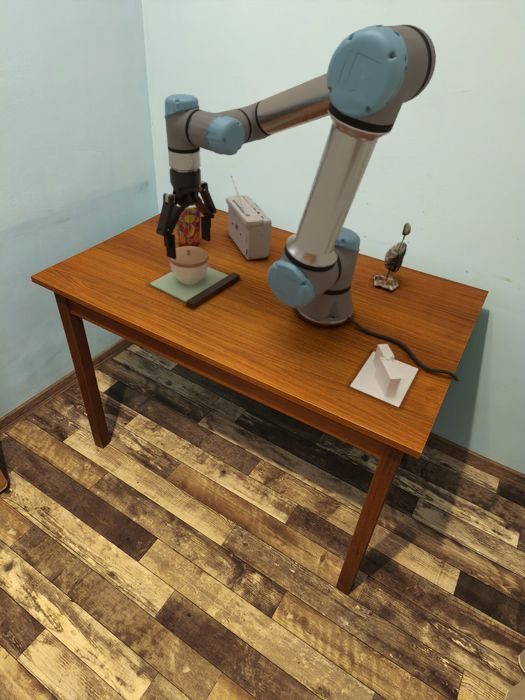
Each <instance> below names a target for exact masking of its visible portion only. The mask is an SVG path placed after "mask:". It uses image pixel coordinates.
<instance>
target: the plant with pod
mask: <svg viewBox="0 0 525 700" xmlns="http://www.w3.org/2000/svg"><path fill="white" fill-rule="evenodd" d="M411 226H412V225H411V224H410V223H409V222H405V224H404V225H403V229H402V232H401V234H402V236H403V238H402V240H401V241H399V242H396V243H395V244H394V245H393V246H392V247H390V248H389V249H388V250H387V251H386V253H385V255H384V261H383V262H384V263H383V265H384V267H385V269H387V270H388V271H387V274H386V273H380V274H379V273H377V274H375V275H374V276H373V282H374V283H373V286H375V287H376V286H377V287H382V288H384V289H386V290H388V291H395V290H396V289H397V287H399V286H400V282H399V281H398V279H397V277H393V276H394V275H395V274H396V273H398V271H399V270H400V269H401V267H402V265H403V261H404V258H405V256H406V253H407V248H408V244H409V243H410V242H409V241H407V243H408V244H407V243H406V242H404V240H405V238H406V236H409V235H410V234H411V231H412V227H411Z"/></svg>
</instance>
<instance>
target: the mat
mask: <svg viewBox="0 0 525 700" xmlns="http://www.w3.org/2000/svg"><path fill="white" fill-rule="evenodd" d="M228 275H229V274H226V273H225V272H221V271H219V270H217V269H215V268H212V267H210V266H208V268H207V272H206V274H205V276H204V277H203V278H202V279H201V280H200V282H199V283H197V284H193V285H186V284H183V283H181V282H180V281H179V280H178V279H177V278H176V277H175V276H174V275H173V273H172V271H170V272H168V273H166V274H165V275H162V276H161V277H159V278H157V279H155V280H153V281H151V282H149V286H150V287H153V288H155V289H157V290H159V291H161V292H162V293H163V292H164V293H165V294H167V295H169V296H171V297H174V298H175V299H177V300H179V301H181V302H183V303H185V304H186V301H187V300H189V299H190V298H192V297H194V296H195V295H197V294H198V293H200V292H202V291H203V290H205V289H207V288H208V287H210V286H212V285H213V284H215V283H216V282H218V281H220V280H221V279H223V278H225V277H226V276H228Z"/></svg>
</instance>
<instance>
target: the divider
mask: <svg viewBox="0 0 525 700" xmlns="http://www.w3.org/2000/svg"><path fill="white" fill-rule="evenodd" d="M227 275H228V276H226V277H225V278H223V279H221V280H220V281H218V282H216V283H215V284H213V285H212V286H210V287H208V288H207V289H205V290H203V291H202V292H200V293H198V294H197V295H195V296H194V297H192V298H190V299H189V300H187V301H186V303H185V305H186V307H188V308H190V309H192V310H194V309H196V308H197V307H199V306H201V305H202V304H204V303H205V302H207V301H209V300H210V299H212V298H213V297H215V296H216V295H218V294H219V293H221V292H223V291H224V290H225V289H227V288H229V287H230V286H232V285H234V284H236V283H237V282H238V281H240V280H241V275H240V274H239V273H237V272H235V271H233V272H231V273H229V274H227Z"/></svg>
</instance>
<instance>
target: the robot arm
mask: <svg viewBox="0 0 525 700" xmlns="http://www.w3.org/2000/svg"><path fill="white" fill-rule="evenodd" d="M436 58H437V53H436V48H435V45H434V42H433V40H432V38H431V37H430V35H429V34H428V33H427V32H426V31H425V30H424V29H422V28H420V27H419V26H416V25H412V24H398V25H397V24H396V25H383V24H374V25H369V26H365V27H363V28H361V29H358V30H355V31H354V32H352V33H350V34H349V35H347V36H346V37H345V38H344V39H342V41H341V42H340V43H339V44H338V46H337V47H336V49H335V50H334V51H333V53H332V55H331V58H330V61H329V63H328V67H327V71H326V73H323V74H321V75H318V76H317V77H314V78H311V79H309V80H307V81H305V82H302V83H299V84H297V85H295V86H292V87H291V88H287V89H286V90H283V91H280V92H278V93H276V94H273V95H271V96H268V97H267V98H264V99H261V100H258V101H256V102H253V103H251V104H249V105H246V106H242V107H239V108H238V107H237V108H233V109H228V110H224V111H219V112H210V111H206V110H203V109H200V105H199V100H198V98H197V96H195V95H191V94H185V93H184V94H183V93H178V94H170V95H168V96H166V98H165V99H164V120H165V131H166V142H167V155H168V165H169V167H170V168H169V170H168V171H169V172H168V173H169V182H170V185H171V186H172V193H167V192H164V193H163V194H162V205H161V206H162V207H161V210H160V214H159V218H158V222H157V227H156V231H155V232H156V234H157V235H160V236H162V237H163V246H164V247H165V249H166V250H165V251H166V257H168V258H169V257H170V258H172V259H176V248H177V247H176V234H173V233H174V231H175V228H176V227H177V226H176V224H177V222H178V220H179V217H180V215H181V213H182V212H183V211H184V210H185V208H187V207H189V206H192V205H195V206H196V207H197V208H198V210H199V211H200V212H201V216H200V236H201V237H200V239H201V240H203V241H205V242H209V243H210V242H211V237H212V236H211V228H212V219H214V218H215V214H217V208H216V205H215V203H214V200H213V198H212V196H211V193H210V191H209V183H208V182H206V181H203V180H202V170H201V169H200V168H201V164H202V163H201V162H202V161H201V149H204V150H207V151H209V152H213V153H215V154H218V155H224V156H235V155H236V154H237V153H238V151H240V150H241V149H242V147H243V145H245V144H248V143H252V142H256V141H260V140H264V139H266V138H268V137H271V136H274V135H275V134H280V133H282V132H284V131H288V130H290V129H294V128H296V127H300V126H302V125H306V124H309V123H311V122H314V121H317V120H320V119H323V118H326V117H330V119H331V122H332V123H331V126H330V129H329V133H328V134H327V135H328V136H327V138H326V140H325V145H324V148H323V151H322V154H321V157H320V160H319V163H318V166H317V169H316V172H315V175H314V178H313V181H312V184H311V188H310V190H309V194H308V197H307V200H306V203H305V206H304V209H303V212H302V215H301V217H300V221H299V224H298V227H297V230H296V233H294V234H292V235H290V236H289V237H288V238H287V239H286V241H285V244H284V247H283V250H282V254H281V257H280V258H279V260H276V261H274V262H273V263H272V264H271V265H270V267H269V268H268V270H267V283H268V287H269V289H270V290H271V291H272V294H273V296H274V297H275V298H276V299H277V300H278V301H279V302H280V303H281V304H282V305H284V306H287V307H288V308H291V309H295V313H296V314H297V316H298V317H299V318H300V319H301V320H302V321H305V322H306V323H308V324H310V325H313V326H317V327H321V328H337V327H341V326H343V325H345V324H347V323H348V322H350V323H351V324H352V325H354V326H355V327H356V328H357V329H358V330H360V331H362V332H364V333H365V334H367V335H371V336H373V337H377V338H380V339H384V340H386V341H390V342H393V343H395V344H397V345H398V346H399V347H401V348H403V349H404V350H405V351H406V352H407V354H408V355H409V356H410V357H411V359H412V360H413V361H414V362H415V363H416V365H417V366H419V367H421V368H422V369H424V370H425V371H427V372H430V373H435V374H444V375H448V376H450V377H451V378H452V379H453V380H454V381H455V382H460V380H459V378H458V377H457V375H456V374H455V373H453V372H452V371H450V370H446V369H437V368H432V367H429V366H427V365H426V364H425V363H423V362H421V361H420V360H419V359H418V357H417V356H416V355H415V354H414V352H412V350H411V349H410V348H409V347H408V346H407V345H406V344H405V343H403V342H402V341H400V340H398V339H396V338H394V337H391V336H387V335H385V334H380V333H377V332H374V331H371V330H368V329H367V328H365V327H363V326H362V325H360V324H359V322H358V321H355V319H353V318H352V317H353V313H354V303H353V298H352V292H351V291H352V290H351V289H352V284H353V279H354V275H355V270H356V266H357V261H358V257H359V252H360V250H361V249H360V246H361V237H360V236H359V235H358V233H356V232H355V230H354V231H353V230H352V229H350V228H347V227H344V225H345V222H346V220H347V218H348V215H349V212H350V210H351V207H352V205H353V203H354V200H355V197H356V195H357V192H358V190H359V188H360V185H361V184H362V183H361V182H362V180H363V178H364V175H365V173H366V170H367V168H368V165H369V163H370V161H371V159H372V156H373V153H374V150H375V148H376V146H377V144H378V141H379V139H380V138H382V137H384V136H386V135H388V134H391V132H392V130H393V128H394V125H395V123H396V121H397V118H398V116H399V113H400V111H401V109H402V106H403V104H405V103H407V102H409V101H411V100H413V99H414V100H415V98H416V97H418V96H420V95H421V93H422V92H423V91H424V90H425V89H426V88H427V87H428V85H429V84H430V82H431V80H432V78H433V75H434V72H435V70H436V69H435V68H436V63H437V60H436ZM177 204H178V205H179V206H180V207H179V206H176V205H177Z"/></svg>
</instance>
